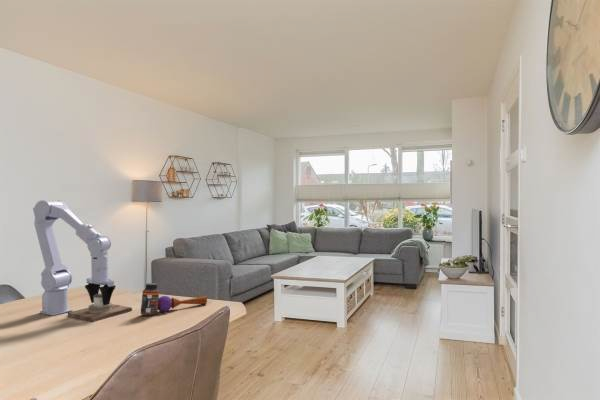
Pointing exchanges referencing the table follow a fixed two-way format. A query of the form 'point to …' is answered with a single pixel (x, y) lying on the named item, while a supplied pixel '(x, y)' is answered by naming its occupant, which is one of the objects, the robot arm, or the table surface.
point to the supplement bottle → (150, 299)
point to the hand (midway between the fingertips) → (100, 303)
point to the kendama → (177, 302)
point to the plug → (98, 300)
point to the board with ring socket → (99, 312)
